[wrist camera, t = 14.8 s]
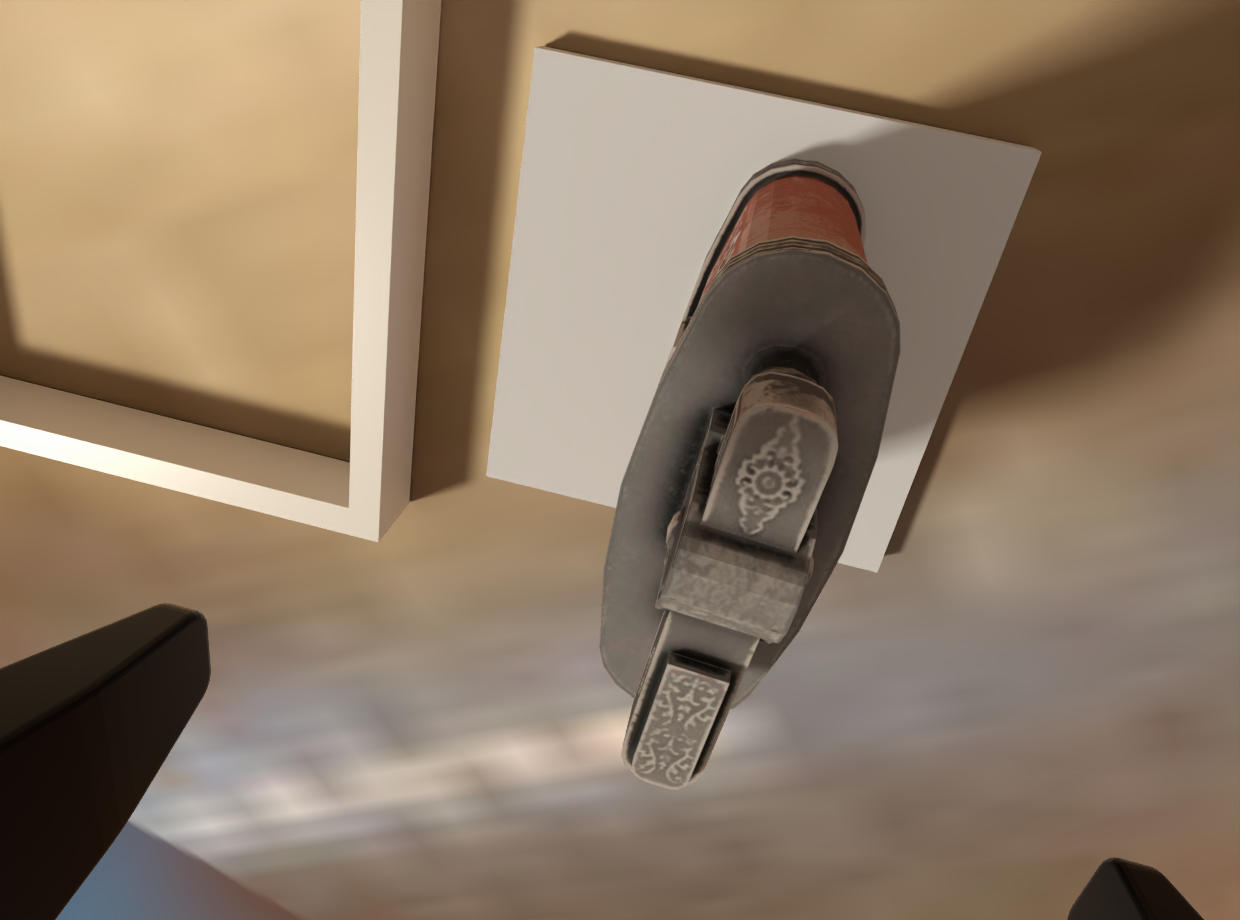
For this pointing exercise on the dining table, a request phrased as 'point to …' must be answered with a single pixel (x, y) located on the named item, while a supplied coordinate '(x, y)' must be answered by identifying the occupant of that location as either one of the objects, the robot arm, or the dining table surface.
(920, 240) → the mat
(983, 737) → the dining table surface
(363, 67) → the holder
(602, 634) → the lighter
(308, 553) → the dining table surface
